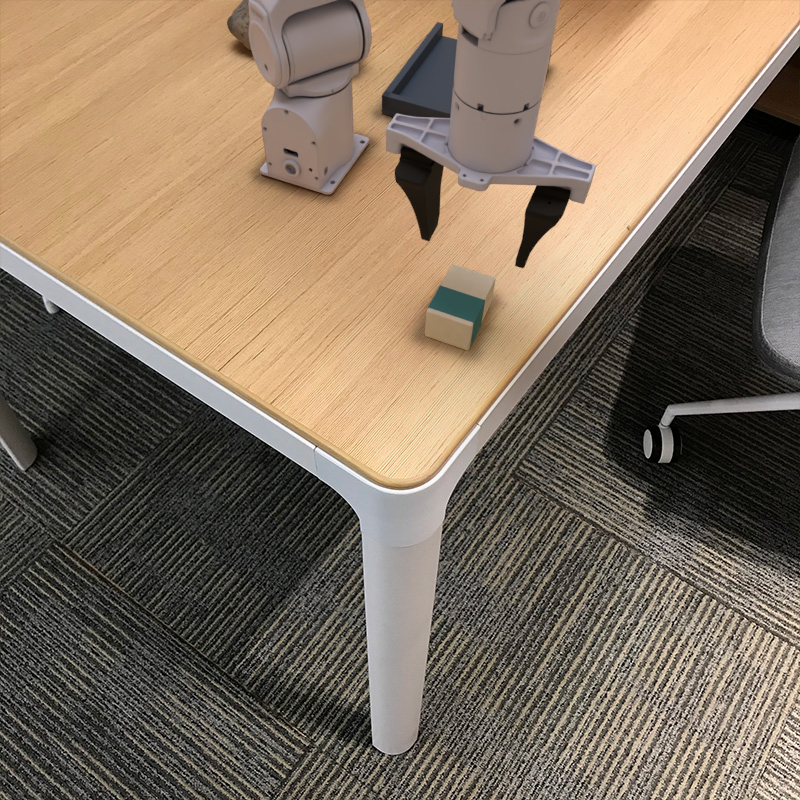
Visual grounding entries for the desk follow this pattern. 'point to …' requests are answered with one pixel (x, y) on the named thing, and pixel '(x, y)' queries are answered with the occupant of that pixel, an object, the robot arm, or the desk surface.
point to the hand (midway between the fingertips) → (475, 245)
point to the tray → (425, 79)
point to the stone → (240, 23)
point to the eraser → (459, 307)
